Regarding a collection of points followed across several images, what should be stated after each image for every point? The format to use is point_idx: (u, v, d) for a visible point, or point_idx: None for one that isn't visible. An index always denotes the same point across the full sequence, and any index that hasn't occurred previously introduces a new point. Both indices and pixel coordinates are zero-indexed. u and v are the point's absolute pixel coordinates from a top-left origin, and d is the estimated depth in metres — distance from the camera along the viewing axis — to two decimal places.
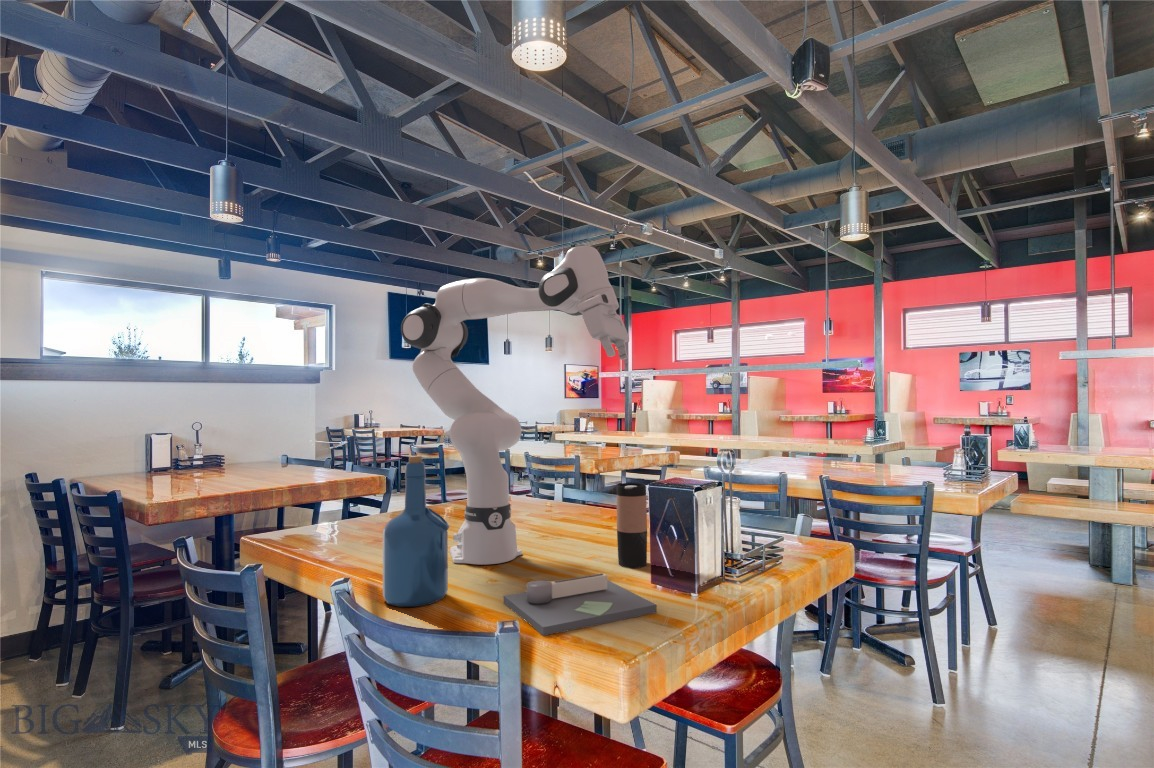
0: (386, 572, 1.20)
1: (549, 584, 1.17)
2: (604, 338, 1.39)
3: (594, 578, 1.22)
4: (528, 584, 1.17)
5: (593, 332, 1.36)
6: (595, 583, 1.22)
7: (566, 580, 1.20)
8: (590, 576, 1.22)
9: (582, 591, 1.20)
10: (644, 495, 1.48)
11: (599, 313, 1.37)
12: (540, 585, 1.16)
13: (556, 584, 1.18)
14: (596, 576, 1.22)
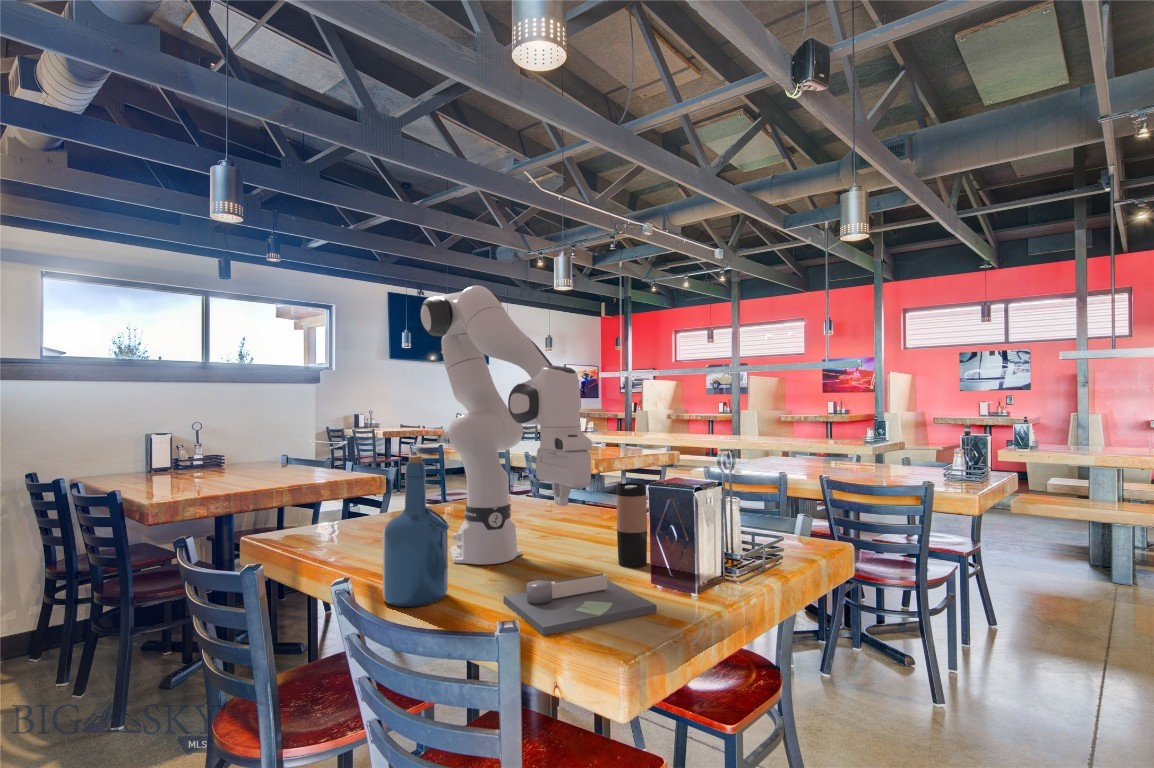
0: (386, 572, 1.20)
1: (549, 584, 1.17)
2: (567, 486, 1.25)
3: (594, 578, 1.22)
4: (528, 584, 1.17)
5: (579, 482, 1.18)
6: (595, 583, 1.22)
7: (566, 580, 1.20)
8: (590, 576, 1.22)
9: (582, 591, 1.20)
10: (644, 495, 1.48)
11: (590, 463, 1.19)
12: (540, 585, 1.16)
13: (556, 584, 1.18)
14: (596, 576, 1.22)
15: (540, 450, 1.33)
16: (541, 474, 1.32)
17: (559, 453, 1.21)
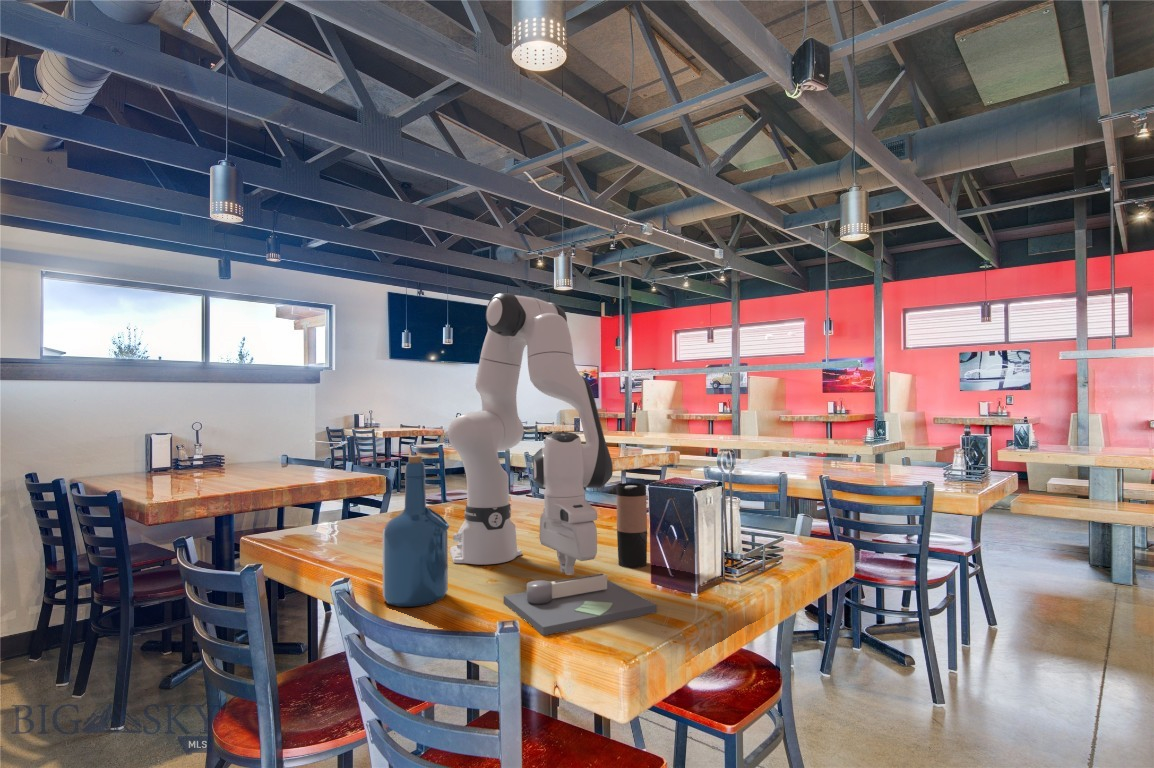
0: (386, 572, 1.20)
1: (549, 584, 1.17)
2: None
3: (594, 578, 1.22)
4: (528, 584, 1.17)
5: (586, 555, 1.17)
6: (595, 583, 1.22)
7: (566, 580, 1.20)
8: (590, 576, 1.22)
9: (582, 591, 1.20)
10: (644, 495, 1.48)
11: (596, 535, 1.19)
12: (540, 585, 1.16)
13: (556, 584, 1.18)
14: (596, 576, 1.22)
15: (543, 516, 1.32)
16: (545, 541, 1.31)
17: (564, 524, 1.21)
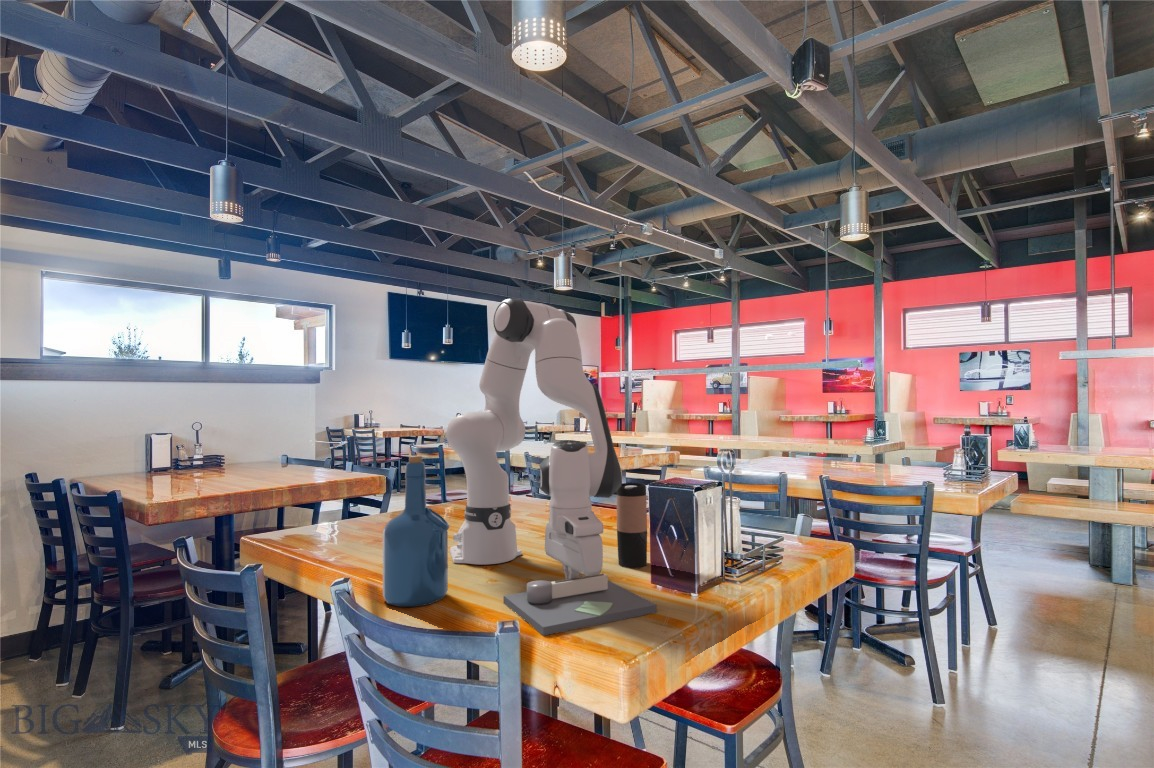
0: (386, 572, 1.20)
1: (549, 584, 1.17)
2: None
3: (594, 578, 1.22)
4: (528, 584, 1.17)
5: (591, 570, 1.13)
6: (595, 583, 1.22)
7: (566, 580, 1.19)
8: (590, 576, 1.22)
9: (582, 591, 1.20)
10: (644, 495, 1.48)
11: (601, 548, 1.15)
12: (540, 585, 1.16)
13: (556, 584, 1.18)
14: (596, 576, 1.22)
15: (549, 526, 1.28)
16: (550, 552, 1.27)
17: (569, 537, 1.17)
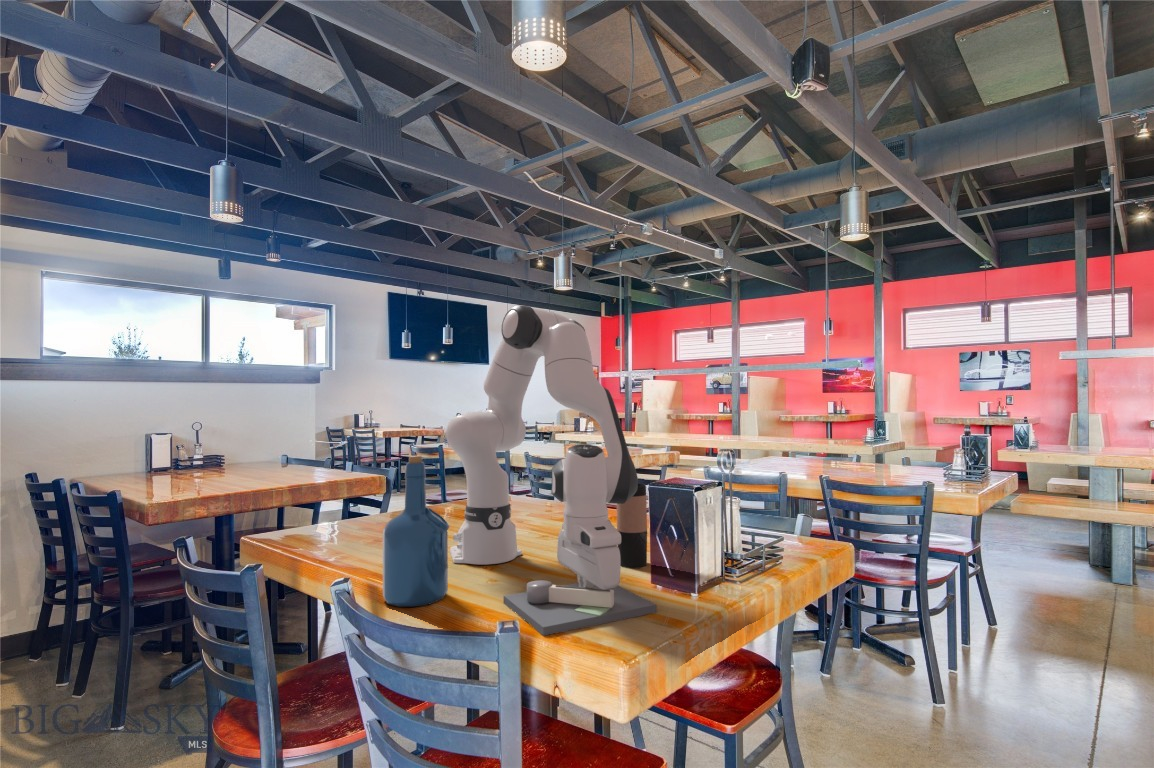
0: (386, 572, 1.20)
1: (544, 586, 1.15)
2: None
3: (596, 592, 1.12)
4: (531, 582, 1.18)
5: (608, 583, 1.07)
6: (597, 598, 1.12)
7: (566, 587, 1.15)
8: (594, 589, 1.13)
9: (582, 603, 1.13)
10: (644, 495, 1.48)
11: (619, 561, 1.09)
12: (537, 585, 1.16)
13: (553, 588, 1.15)
14: (600, 591, 1.13)
15: (562, 533, 1.22)
16: (563, 560, 1.21)
17: (585, 548, 1.11)
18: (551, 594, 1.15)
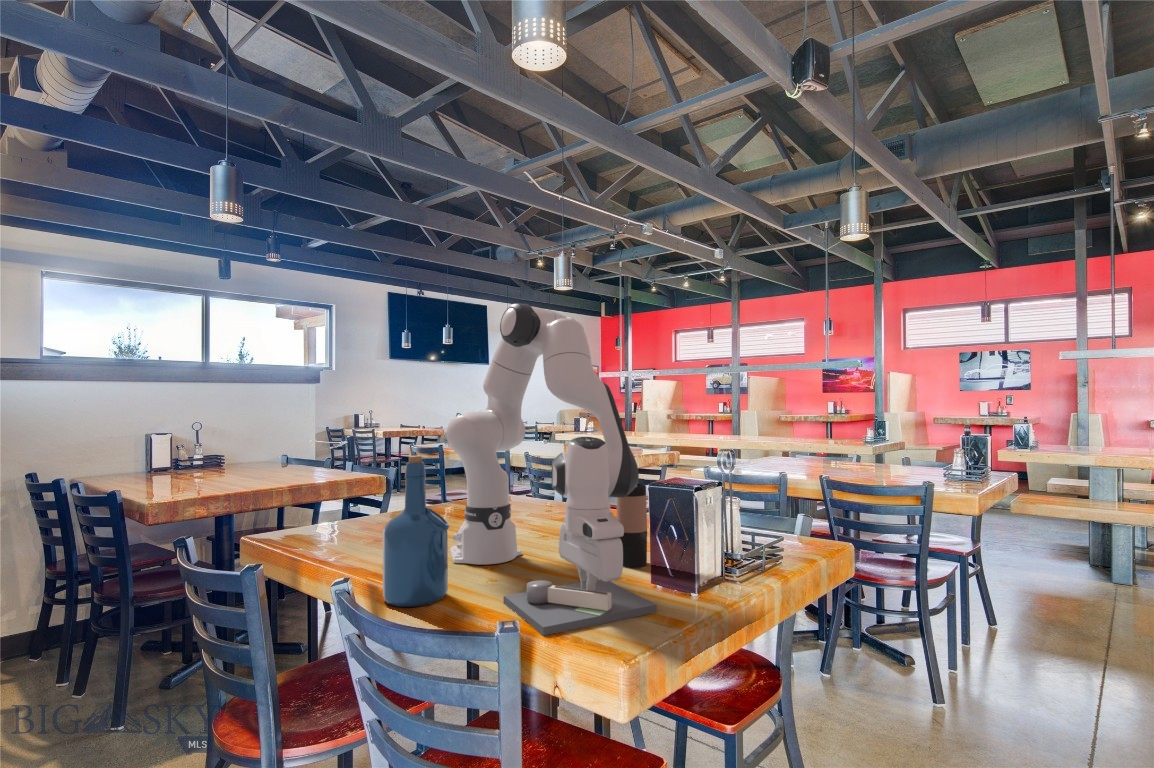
0: (386, 572, 1.20)
1: (543, 586, 1.15)
2: None
3: (593, 594, 1.11)
4: (532, 581, 1.19)
5: (610, 575, 1.06)
6: (594, 600, 1.11)
7: (565, 588, 1.14)
8: (591, 591, 1.12)
9: (579, 604, 1.12)
10: (644, 495, 1.48)
11: (622, 553, 1.08)
12: (536, 585, 1.16)
13: (552, 589, 1.15)
14: (597, 593, 1.11)
15: (564, 527, 1.21)
16: (565, 554, 1.20)
17: (587, 540, 1.10)
18: (550, 594, 1.15)
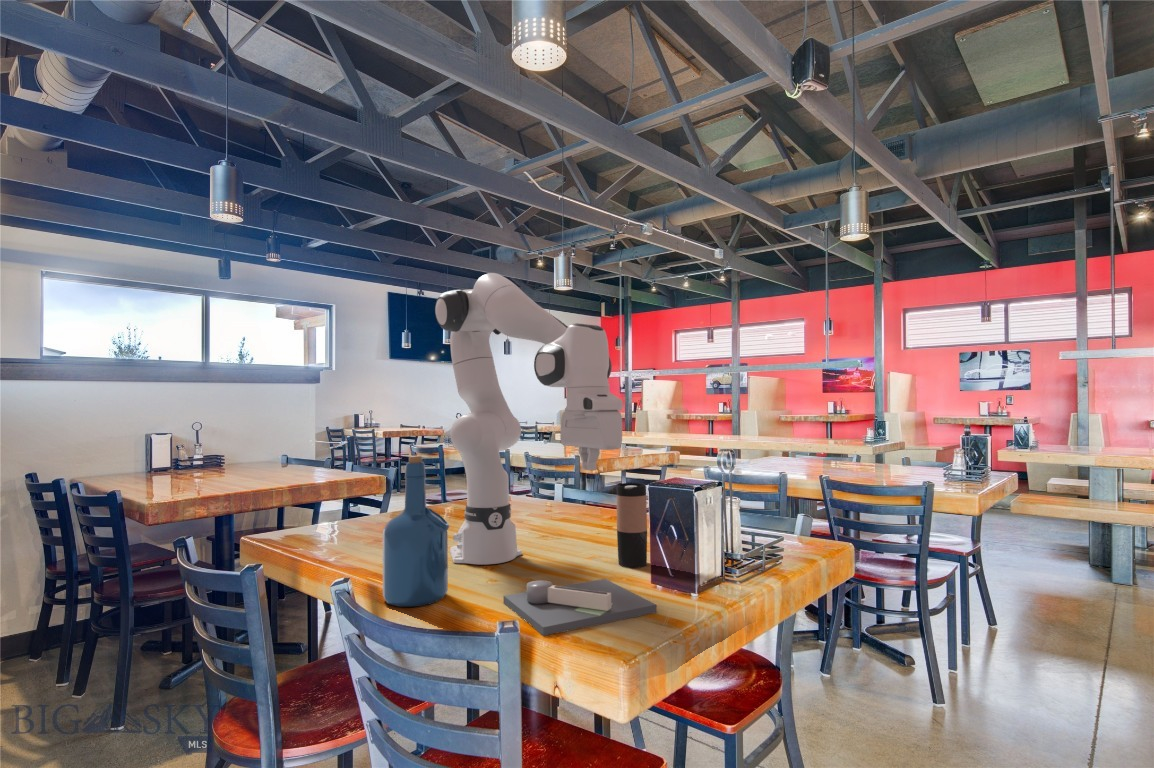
0: (386, 572, 1.20)
1: (543, 586, 1.15)
2: (595, 449, 1.18)
3: (592, 594, 1.11)
4: (532, 581, 1.19)
5: (610, 443, 1.11)
6: (594, 600, 1.11)
7: (565, 588, 1.14)
8: (591, 591, 1.12)
9: (579, 604, 1.12)
10: (644, 495, 1.48)
11: (621, 423, 1.13)
12: (536, 585, 1.16)
13: (552, 589, 1.15)
14: (596, 593, 1.11)
15: (565, 413, 1.26)
16: (566, 439, 1.25)
17: (588, 413, 1.14)
18: (550, 595, 1.15)
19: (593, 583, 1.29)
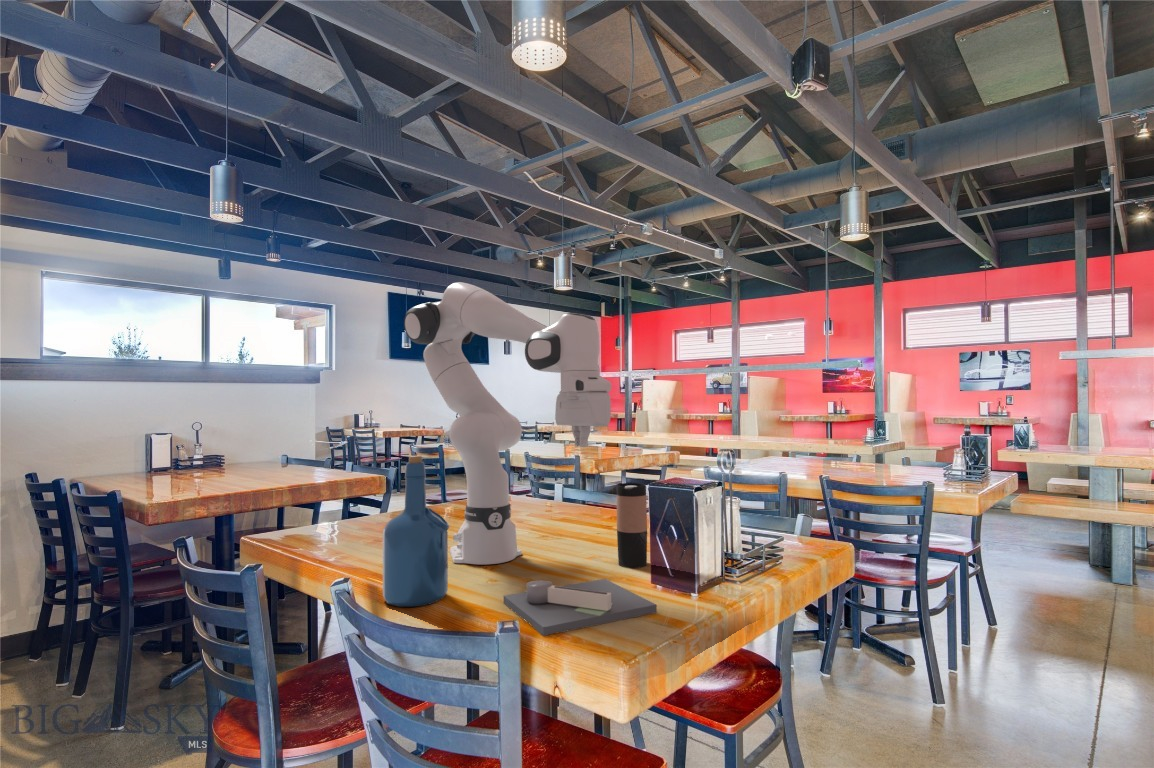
0: (386, 572, 1.20)
1: (543, 586, 1.15)
2: (587, 427, 1.30)
3: (592, 594, 1.11)
4: (532, 581, 1.19)
5: (600, 421, 1.23)
6: (594, 600, 1.11)
7: (565, 588, 1.14)
8: (591, 591, 1.12)
9: (579, 604, 1.12)
10: (644, 495, 1.48)
11: (609, 403, 1.24)
12: (536, 585, 1.16)
13: (552, 589, 1.15)
14: (596, 593, 1.11)
15: (559, 396, 1.38)
16: (561, 419, 1.37)
17: (580, 394, 1.26)
18: (550, 595, 1.15)
19: (593, 583, 1.29)
